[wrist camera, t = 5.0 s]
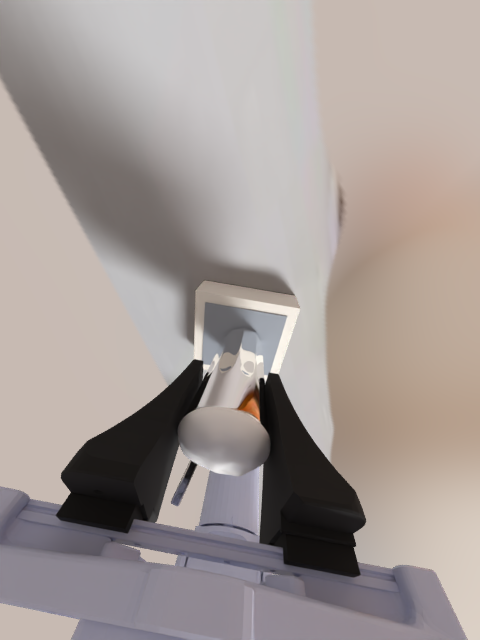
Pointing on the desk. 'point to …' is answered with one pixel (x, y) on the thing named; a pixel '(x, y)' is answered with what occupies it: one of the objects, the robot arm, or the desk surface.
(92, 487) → the robot arm
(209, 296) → the plinth
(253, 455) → the milkshake
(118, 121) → the desk surface
